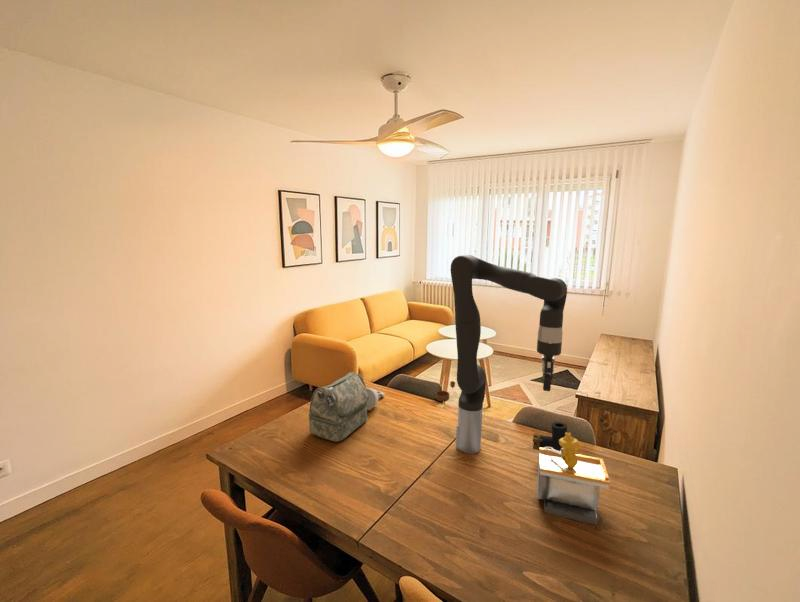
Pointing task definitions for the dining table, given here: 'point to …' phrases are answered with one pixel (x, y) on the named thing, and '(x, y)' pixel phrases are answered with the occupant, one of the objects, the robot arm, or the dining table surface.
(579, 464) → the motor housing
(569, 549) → the dining table surface
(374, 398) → the engine component
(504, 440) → the dining table surface
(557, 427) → the pipe connector
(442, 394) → the place setting
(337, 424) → the lunch bag
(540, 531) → the dining table surface
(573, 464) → the pressure relief valve
